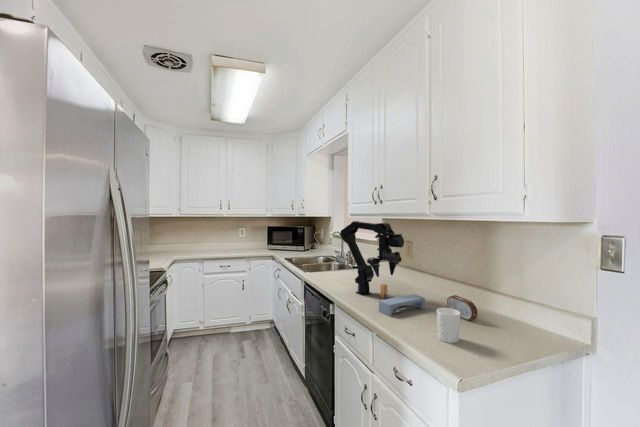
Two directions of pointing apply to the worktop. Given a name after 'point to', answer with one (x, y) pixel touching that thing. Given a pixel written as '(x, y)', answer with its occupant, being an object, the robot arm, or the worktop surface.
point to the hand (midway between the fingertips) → (384, 276)
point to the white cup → (448, 324)
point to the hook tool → (385, 292)
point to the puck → (396, 310)
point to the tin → (463, 307)
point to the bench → (400, 303)
